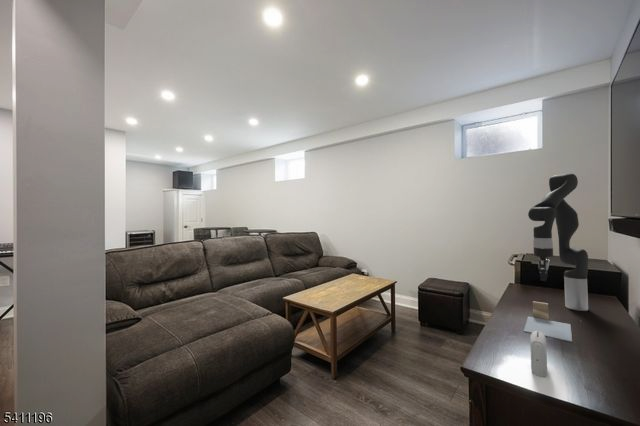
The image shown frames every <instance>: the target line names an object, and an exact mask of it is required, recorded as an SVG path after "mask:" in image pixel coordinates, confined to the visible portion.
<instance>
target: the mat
mask: <svg viewBox="0 0 640 426" xmlns="http://www.w3.org/2000/svg"><path fill="white" fill-rule="evenodd" d="M534 331H538V332H541V333H543V334H544V336H545V338H552V339H556V340H560V341H565V342H566V341H567V342H571V343H573V338H572V326H571V324H570V323H565V322H560V321H559V322H558V321H554V320H550V319H549V320H545V319H539V318H534V317H533V316H527V319H526V323H525V325H524V329H523V332H525V333H529V334H532V332H534Z"/></svg>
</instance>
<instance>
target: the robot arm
mask: <svg viewBox="0 0 640 426" xmlns="http://www.w3.org/2000/svg"><path fill="white" fill-rule="evenodd" d="M578 184H579V179H578V176H577V175H575V174H574V173H563V174H556V175H552V176H550V177H549V179H548V186H549V190H550V192H548V193H547V194H546V195H545V196H544V197H543V198H542V200H541V201H539V202H537V204H535V205H533V206H532V207H531V208H530V209H529V211H528V215H527V216H528V218H529V219H530V220H531V221H534V222H544V223H543V224H542V225H536V226H534V227H533V240H532V242H533V256H535V257H539V259H538V260H537V264H538V272H539V275H540V277H539V278H540V281H542V282H546V281H547V278H548V277H549V274H548V273H549V272H548V271H549V267H550V264H549V263H550V259H549V258H553V257H554V242H553V232H552V231H553V230H552V229H553V227H554V222H555V224H556V231H557V235H558V236H557V237H558V254H559V256H558V257H559V260H560V261H561V263H562V264H564V265H569V266H570V265H571V266H575V267H574V269H569V270H565V271H564V272H563V279H564V280H563V281H564V304H565V305H564V306H565V307H566V308H567V309H569V310H575V311H581V312H587V311H588V310H589V294H588V272H589V269H588V268H589V267H588V266H589V254H588V251H586V250H585V249H581V248H572V247H571V245H570V244H571V243H570V241H571V239H572V237H573V235H574V234H575V233H576V231H577V230H578V229H579V225H580V224H579V217H578V213H577V211H576V210H575V209H574V208H573V207H572V206H571V205H570V204H569V203H568V202H567V201H566V200H565V198H566V197H568V196H569V195H571V193H572V192H573V191H574V190H576V188H577V187H578Z"/></svg>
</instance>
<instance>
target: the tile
mask: <svg viewBox="0 0 640 426" xmlns="http://www.w3.org/2000/svg"><path fill="white" fill-rule="evenodd" d="M549 315H550V313H549V303H547V302H543V301H542V302H540V301H534V300H533V301H532V317H534V318H539V319H545V320H550V319H549Z"/></svg>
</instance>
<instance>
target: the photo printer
mask: <svg viewBox="0 0 640 426" xmlns="http://www.w3.org/2000/svg"><path fill="white" fill-rule="evenodd" d="M529 340H530V341H529V344H530V345H529V346H530V369H531V373H533V375H535V374H536V376H538V377H542V376H544V377H546V376H547V373H548V356H547V355H548V354H547V351H548V350H547V337H546V336H544V334H543V333H541V332H538V331H534V332H532V333H530V336H529Z"/></svg>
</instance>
